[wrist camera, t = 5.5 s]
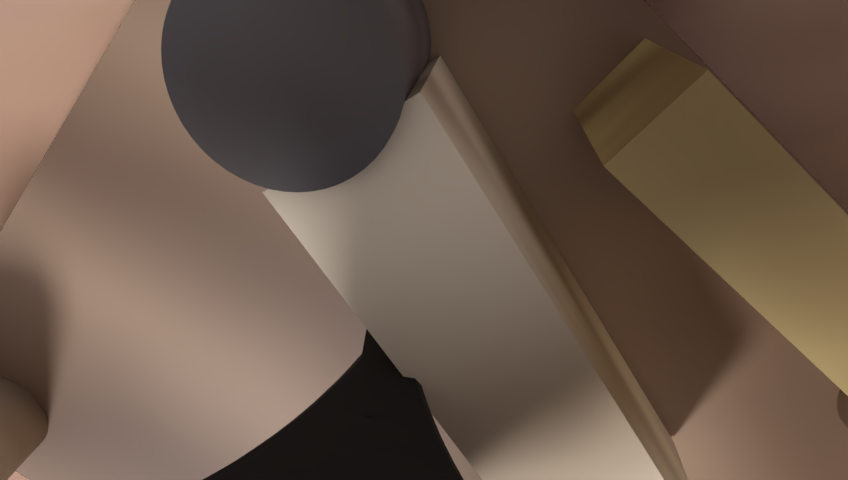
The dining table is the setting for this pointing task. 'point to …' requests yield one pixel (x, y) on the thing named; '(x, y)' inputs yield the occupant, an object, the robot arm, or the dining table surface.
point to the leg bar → (415, 227)
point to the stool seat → (341, 328)
